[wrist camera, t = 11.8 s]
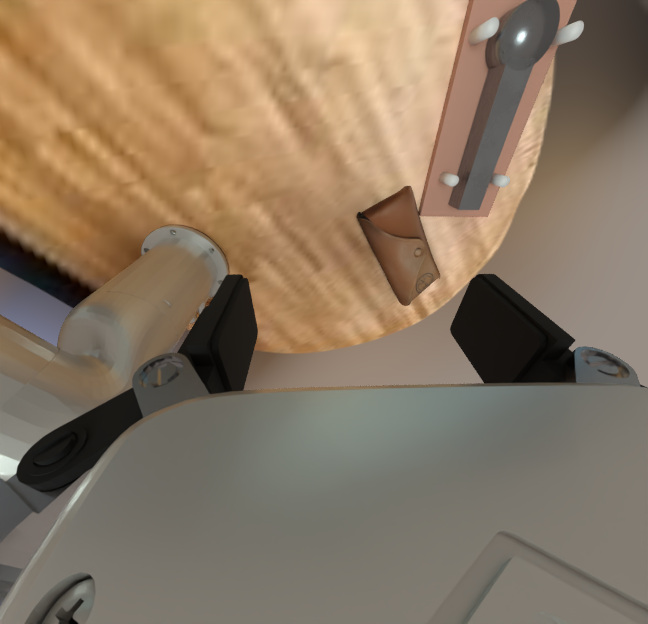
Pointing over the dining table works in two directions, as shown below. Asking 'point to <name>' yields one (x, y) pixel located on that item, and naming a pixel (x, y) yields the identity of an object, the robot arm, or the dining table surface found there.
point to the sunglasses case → (400, 244)
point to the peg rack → (463, 100)
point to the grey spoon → (503, 93)
